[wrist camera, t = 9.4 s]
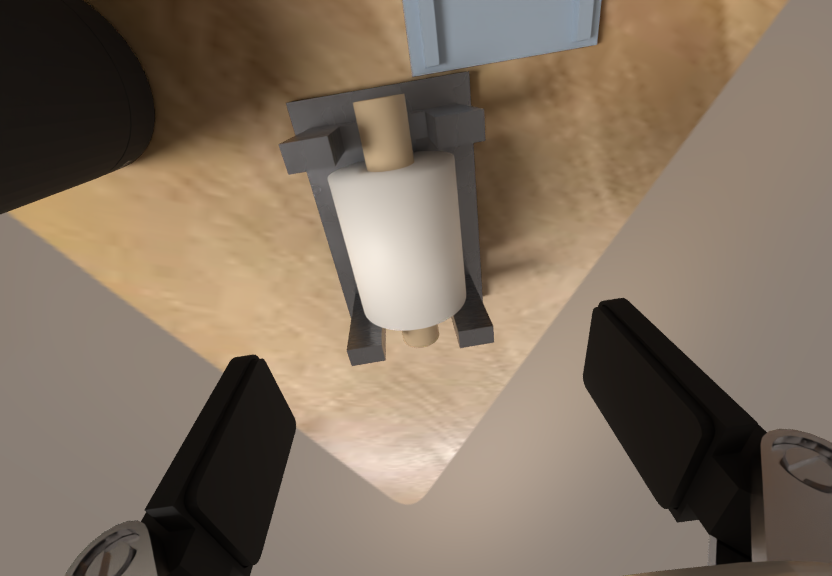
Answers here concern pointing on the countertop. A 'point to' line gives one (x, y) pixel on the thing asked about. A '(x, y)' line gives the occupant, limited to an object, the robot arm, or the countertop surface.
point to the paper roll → (401, 225)
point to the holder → (430, 131)
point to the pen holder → (66, 99)
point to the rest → (494, 30)
